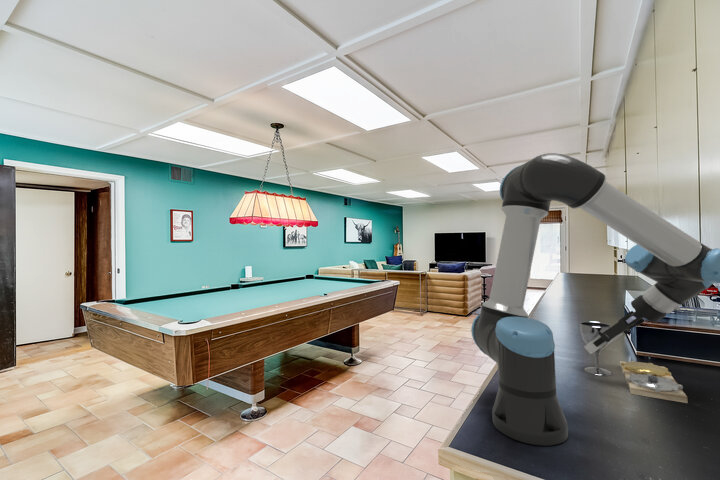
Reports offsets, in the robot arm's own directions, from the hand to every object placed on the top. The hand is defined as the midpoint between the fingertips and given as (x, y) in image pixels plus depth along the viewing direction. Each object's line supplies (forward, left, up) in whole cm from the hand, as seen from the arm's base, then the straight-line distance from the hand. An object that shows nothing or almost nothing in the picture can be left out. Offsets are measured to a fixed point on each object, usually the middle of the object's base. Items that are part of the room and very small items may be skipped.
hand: (595, 345), depth 104 cm
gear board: (-4, -12, -8) cm, 15 cm away
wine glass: (-1, 0, -8) cm, 8 cm away
